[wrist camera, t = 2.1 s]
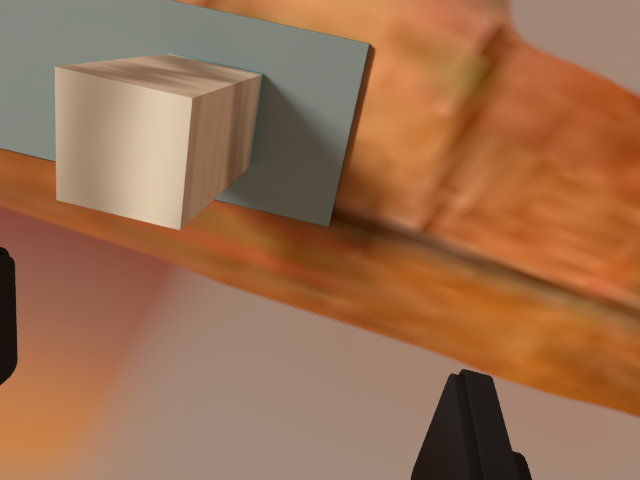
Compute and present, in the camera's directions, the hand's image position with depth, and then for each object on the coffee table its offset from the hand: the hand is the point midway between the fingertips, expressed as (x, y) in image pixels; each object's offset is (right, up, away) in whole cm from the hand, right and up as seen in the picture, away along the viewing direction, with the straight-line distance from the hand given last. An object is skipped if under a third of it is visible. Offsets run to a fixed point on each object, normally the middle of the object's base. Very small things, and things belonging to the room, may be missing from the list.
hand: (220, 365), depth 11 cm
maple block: (-5, +11, +23) cm, 26 cm away
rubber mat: (-9, +12, +23) cm, 28 cm away
